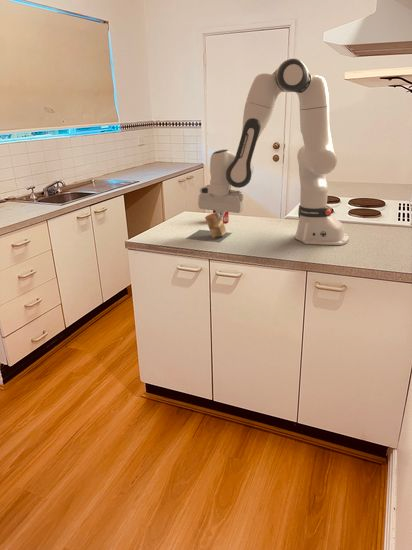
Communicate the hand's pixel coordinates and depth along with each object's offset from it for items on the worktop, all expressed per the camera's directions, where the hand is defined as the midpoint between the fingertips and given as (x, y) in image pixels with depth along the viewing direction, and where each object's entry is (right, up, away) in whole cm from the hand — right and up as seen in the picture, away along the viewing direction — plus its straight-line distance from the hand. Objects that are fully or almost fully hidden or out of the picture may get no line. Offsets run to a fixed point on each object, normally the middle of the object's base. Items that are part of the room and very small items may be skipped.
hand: (220, 220), depth 181 cm
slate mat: (-5, -7, +6) cm, 10 cm away
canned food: (+1, +2, +27) cm, 27 cm away
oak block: (0, -6, +3) cm, 7 cm away
